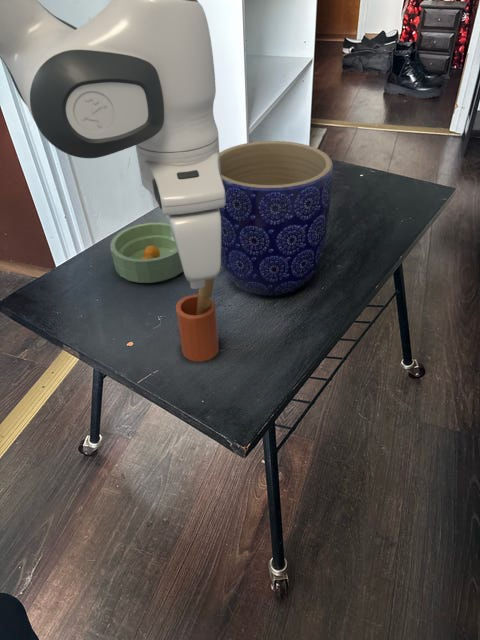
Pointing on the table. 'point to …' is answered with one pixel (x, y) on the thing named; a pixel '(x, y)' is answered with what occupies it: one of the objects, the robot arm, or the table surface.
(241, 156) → the planter
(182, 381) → the table surface
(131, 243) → the bowl
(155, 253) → the bead
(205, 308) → the stick
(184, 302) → the crock
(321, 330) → the table surface
